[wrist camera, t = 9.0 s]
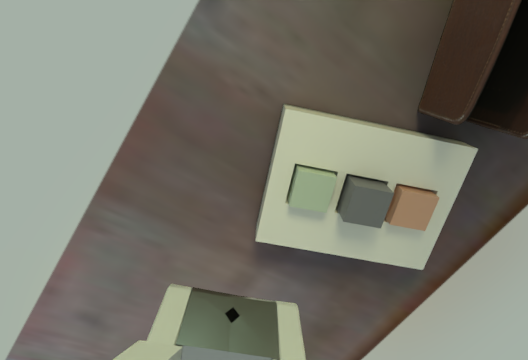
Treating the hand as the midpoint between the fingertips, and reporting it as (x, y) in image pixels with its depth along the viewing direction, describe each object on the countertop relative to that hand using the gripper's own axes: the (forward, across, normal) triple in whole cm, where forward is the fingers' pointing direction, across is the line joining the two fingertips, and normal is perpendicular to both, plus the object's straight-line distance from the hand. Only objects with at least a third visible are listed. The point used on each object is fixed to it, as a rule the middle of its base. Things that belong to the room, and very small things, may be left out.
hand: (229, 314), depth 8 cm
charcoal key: (+26, -13, +6) cm, 29 cm away
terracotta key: (+27, -18, +6) cm, 33 cm away
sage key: (+27, -7, +6) cm, 29 cm away
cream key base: (+29, -13, +6) cm, 32 cm away
